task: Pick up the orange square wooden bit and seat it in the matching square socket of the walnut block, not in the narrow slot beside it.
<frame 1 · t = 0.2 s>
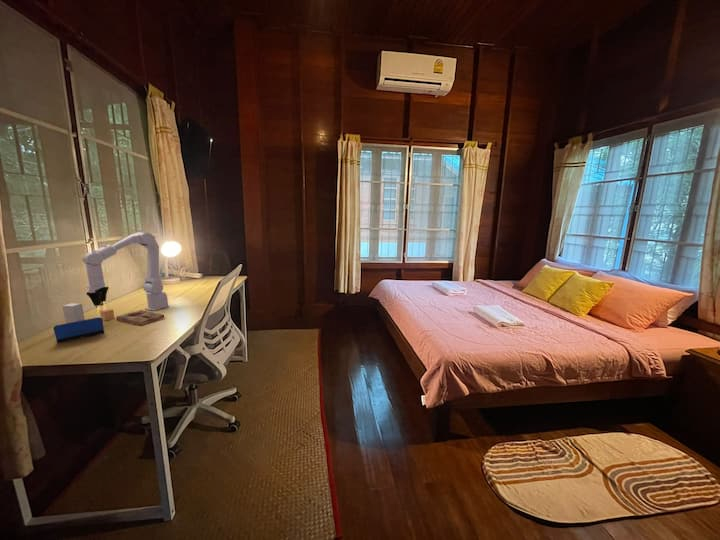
hand: (100, 303, 153), 10 cm above the table, tool pointing down, fingers open, 7 cm apart
socket block: (140, 319, 158), on the table
skincare box: (76, 329, 146), on the table
square bit: (108, 319, 159), on the table
blue box: (81, 337, 136), on the table
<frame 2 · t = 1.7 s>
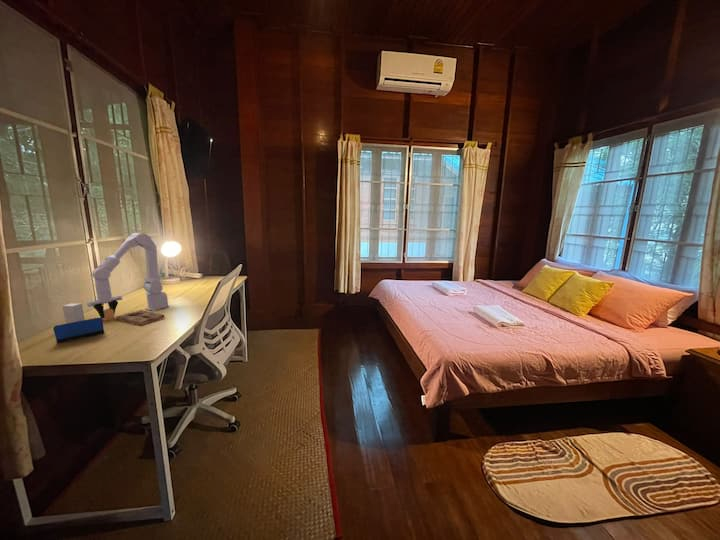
hand: (107, 316, 159), 1 cm above the table, tool pointing down, fingers closed on square bit, 4 cm apart
square bit: (108, 319, 159), on the table, touching gripper
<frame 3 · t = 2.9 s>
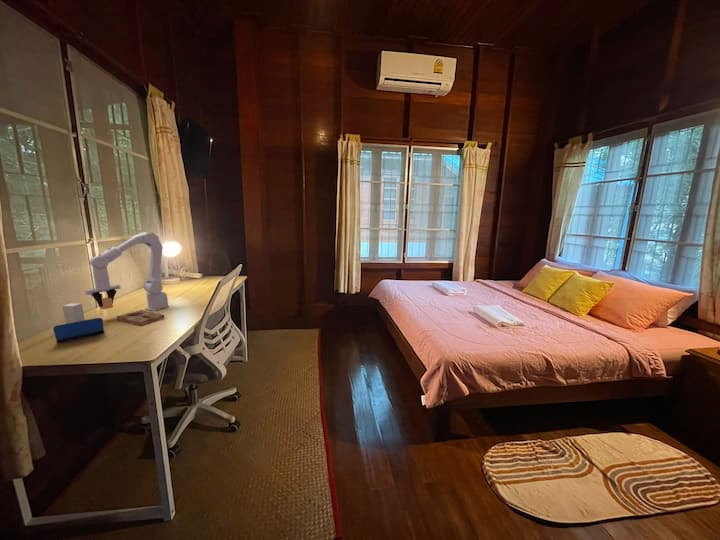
hand: (106, 305, 158), 8 cm above the table, tool pointing down, fingers closed on square bit, 4 cm apart
square bit: (106, 307, 158), point 6 cm above the table, touching gripper
everything else where it was.
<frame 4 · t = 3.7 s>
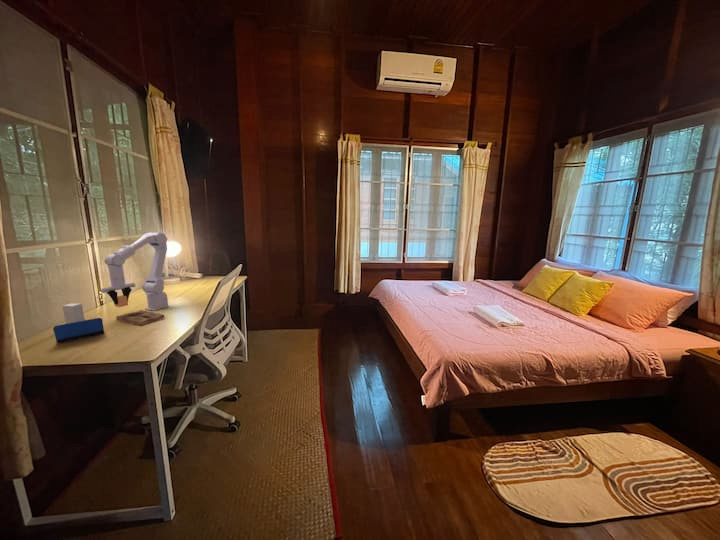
hand: (121, 303, 158), 8 cm above the table, tool pointing down, fingers closed on square bit, 4 cm apart
square bit: (121, 305, 158), point 7 cm above the table, touching gripper
everything else where it was.
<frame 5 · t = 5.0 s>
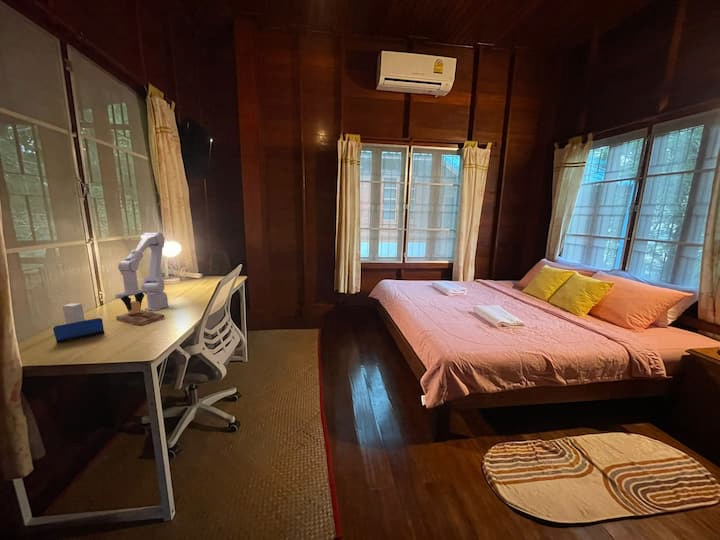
hand: (134, 308, 159), 5 cm above the table, tool pointing down, fingers closed on square bit, 4 cm apart
square bit: (134, 311, 160), point 4 cm above the table, touching gripper
when the fingers open (3 cm above the table, at t = 5.9 s): square bit drops 2 cm, resting in socket block.
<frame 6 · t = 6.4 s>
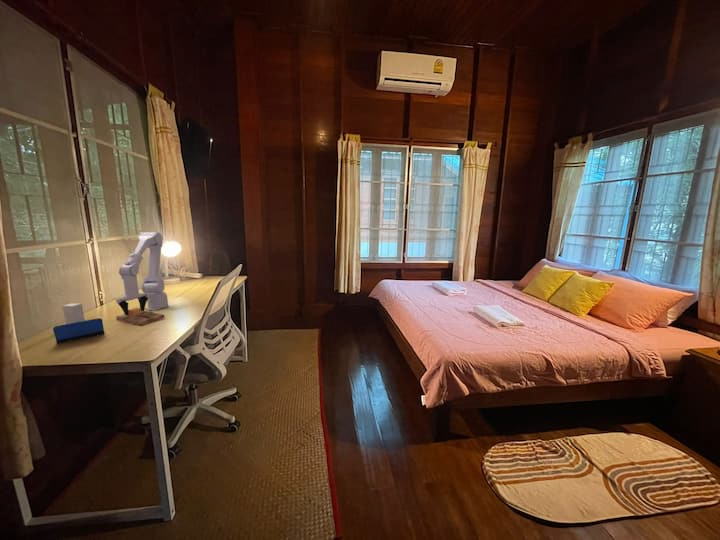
hand: (134, 312, 160), 3 cm above the table, tool pointing down, fingers open, 7 cm apart
square bit: (135, 318, 160), resting in socket block
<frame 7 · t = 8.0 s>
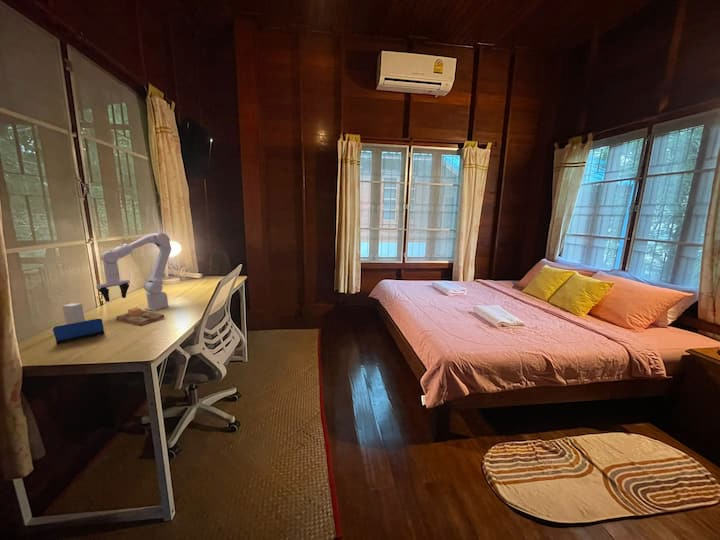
hand: (115, 299, 161), 9 cm above the table, tool pointing down, fingers open, 7 cm apart
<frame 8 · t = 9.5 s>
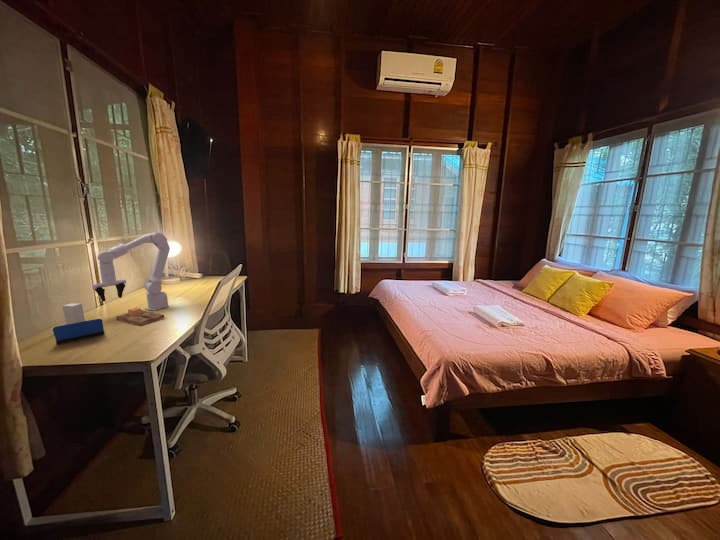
hand: (112, 299, 162), 9 cm above the table, tool pointing down, fingers open, 7 cm apart
at the end: square bit 0.1 cm from the target spot on the socket block, point 0.0 cm above the socket block's base; square bit tilted 0°; the gripper is holding nothing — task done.
